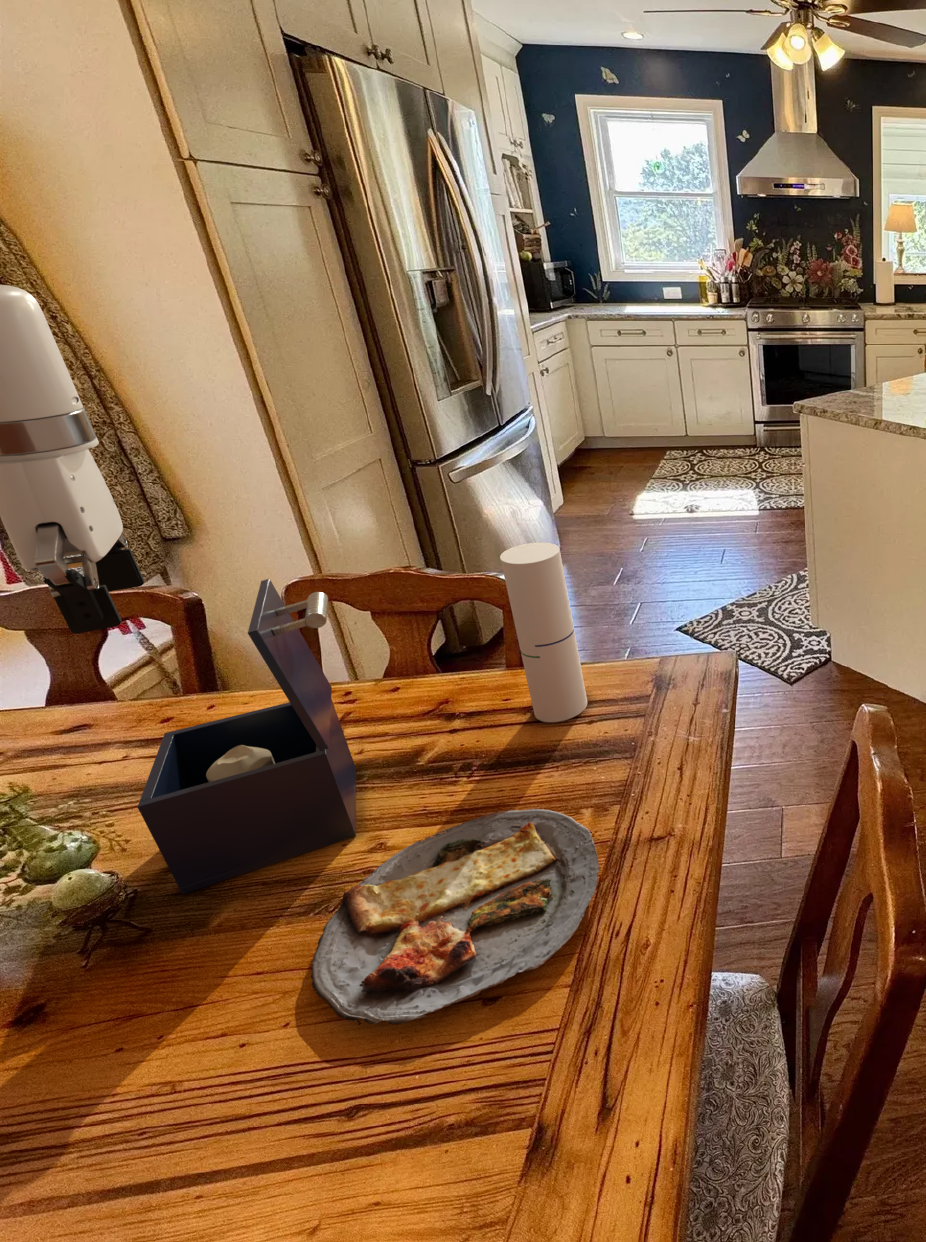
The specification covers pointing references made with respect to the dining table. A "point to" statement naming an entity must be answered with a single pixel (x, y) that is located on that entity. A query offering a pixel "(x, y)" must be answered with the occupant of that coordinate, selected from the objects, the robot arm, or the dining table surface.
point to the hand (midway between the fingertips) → (111, 607)
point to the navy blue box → (247, 796)
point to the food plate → (456, 915)
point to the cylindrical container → (545, 630)
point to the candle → (239, 762)
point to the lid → (294, 656)
